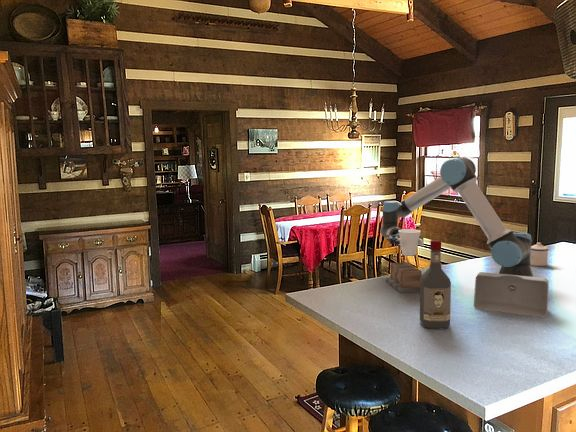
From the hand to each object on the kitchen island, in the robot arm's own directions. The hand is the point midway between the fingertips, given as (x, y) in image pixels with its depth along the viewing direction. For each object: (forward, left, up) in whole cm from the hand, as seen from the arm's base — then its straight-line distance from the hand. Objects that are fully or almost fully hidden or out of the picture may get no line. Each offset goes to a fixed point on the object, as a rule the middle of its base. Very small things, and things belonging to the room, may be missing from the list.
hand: (412, 243), depth 207 cm
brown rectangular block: (+5, 0, -20) cm, 21 cm away
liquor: (-36, +27, -21) cm, 50 cm away
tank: (-40, -12, -21) cm, 46 cm away
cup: (+4, -2, -6) cm, 8 cm away
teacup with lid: (-4, -86, -21) cm, 89 cm away
